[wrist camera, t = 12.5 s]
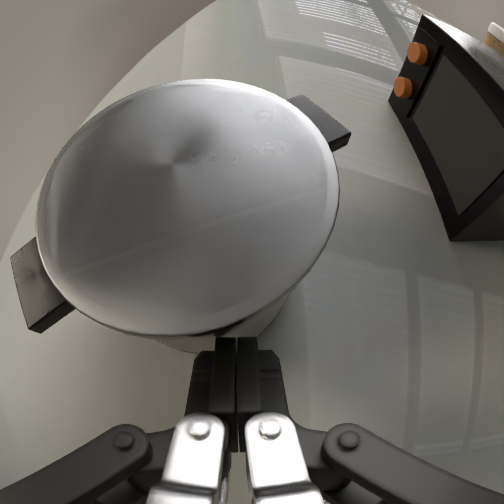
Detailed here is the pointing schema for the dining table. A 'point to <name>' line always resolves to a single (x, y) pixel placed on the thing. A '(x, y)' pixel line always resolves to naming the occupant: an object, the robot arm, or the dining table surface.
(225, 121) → the pot
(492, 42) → the sprinkles bottle
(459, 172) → the toaster oven
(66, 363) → the dining table surface
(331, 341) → the dining table surface
